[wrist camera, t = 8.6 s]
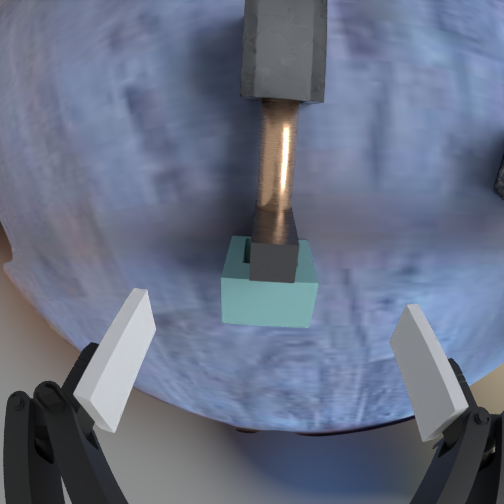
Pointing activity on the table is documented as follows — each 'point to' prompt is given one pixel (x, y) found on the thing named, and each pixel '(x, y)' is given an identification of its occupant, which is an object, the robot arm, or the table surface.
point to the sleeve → (284, 50)
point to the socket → (266, 290)
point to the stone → (500, 182)
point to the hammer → (275, 195)
